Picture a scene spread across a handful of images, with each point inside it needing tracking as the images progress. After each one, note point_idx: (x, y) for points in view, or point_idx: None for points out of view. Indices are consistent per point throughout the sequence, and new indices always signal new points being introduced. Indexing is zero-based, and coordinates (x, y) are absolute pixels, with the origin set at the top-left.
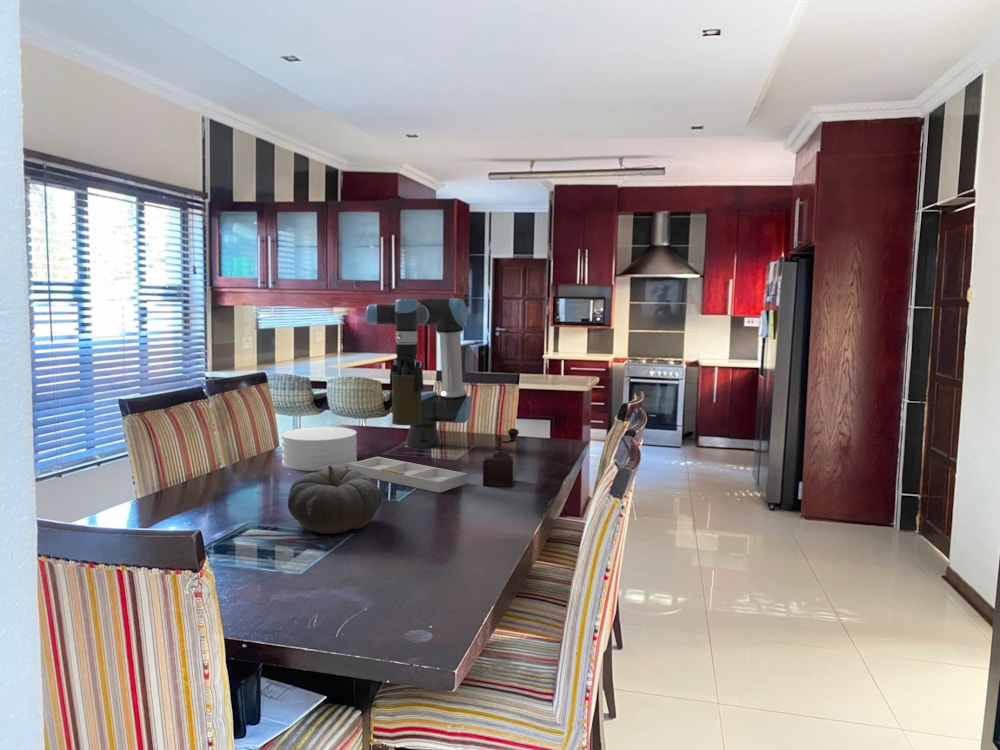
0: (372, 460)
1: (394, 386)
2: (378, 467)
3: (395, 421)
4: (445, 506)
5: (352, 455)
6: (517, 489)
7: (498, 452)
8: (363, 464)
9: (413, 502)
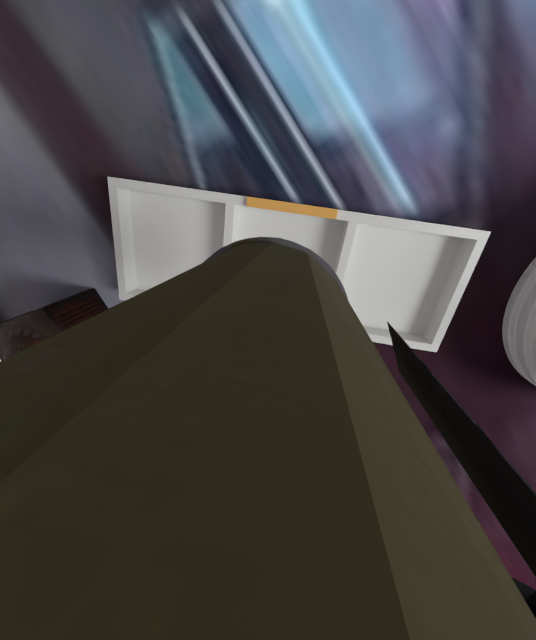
0: (437, 322)
1: (311, 424)
2: (401, 304)
3: (291, 249)
4: (22, 59)
5: (525, 331)
6: (28, 299)
7: (16, 353)
8: (449, 286)
9: (109, 37)
